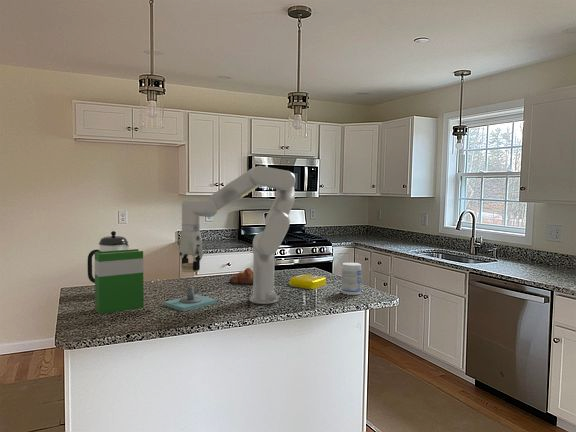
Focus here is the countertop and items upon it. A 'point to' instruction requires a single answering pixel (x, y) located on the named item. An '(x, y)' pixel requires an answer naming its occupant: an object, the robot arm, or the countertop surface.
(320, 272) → the countertop surface
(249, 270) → the pastry
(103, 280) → the hardback book
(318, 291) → the countertop surface
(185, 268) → the ring
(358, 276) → the supplement tub
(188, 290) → the teal plate with knob
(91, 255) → the coffee press
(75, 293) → the countertop surface
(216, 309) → the countertop surface
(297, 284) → the element tile
